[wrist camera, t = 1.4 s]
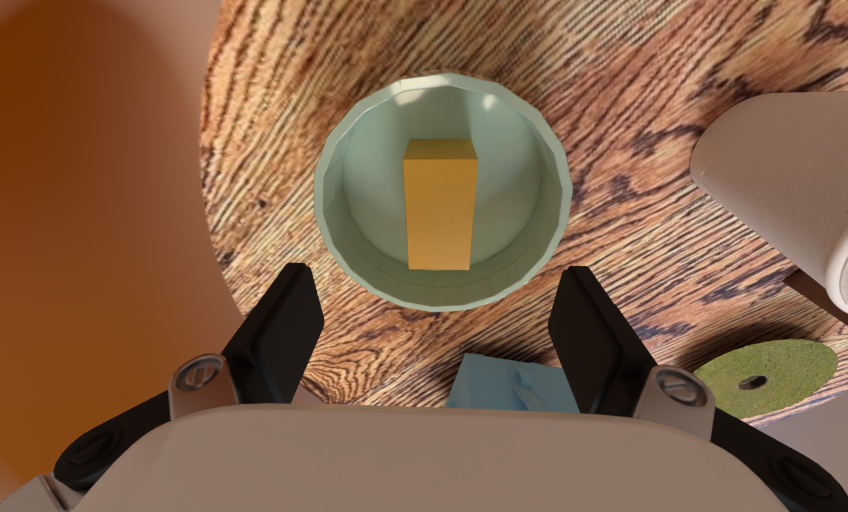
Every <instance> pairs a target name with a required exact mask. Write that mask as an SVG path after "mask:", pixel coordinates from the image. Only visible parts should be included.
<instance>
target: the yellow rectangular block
mask: <svg viewBox="0 0 848 512" xmlns="http://www.w3.org/2000/svg"><path fill="white" fill-rule="evenodd" d="M402 161H403V179H404V197H405V215H406V233H407V251H408V268H409V269H429V270H469V269H470V258H471V246H472V233H473V220H474V208H475V195H476V183H477V170H478V157H477V154H476V151H475V148H474V145H473V142H472V139H410V141H409V143H408V146H407V149H406V152H405V154H404V157H403V160H402Z"/></svg>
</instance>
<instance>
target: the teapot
mask: <svg viewBox="0 0 848 512" xmlns="http://www.w3.org/2000/svg"><path fill="white" fill-rule="evenodd" d="M444 408H462V409H490V410H516V411H542V412H563V413H580V411H579V409H578V406H577V404H576V401H575V398H574V396H573V393H572V391H571V388H570V386H569V383H568V381H567V378H566V375H565V373H564V370H563V368H557V367H551V366H544V365H541V364H539V363H535V362H531V363H525V362H519V361H512V360H506V359H500V358H493V357H487V356H484V355H482V354H477V353H476V354H468V353H465V355H464V358H463V360H462V363H461V365H460V368H459V370H458V373H457V376H456V378H455V381H454V383H453V386H452V389H451V391H450V394H449V396H448V399H447V402H446V404H445V407H444Z"/></svg>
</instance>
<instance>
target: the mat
mask: <svg viewBox="0 0 848 512" xmlns="http://www.w3.org/2000/svg"><path fill="white" fill-rule="evenodd" d="M829 348H830V347H828V346H825V345H823V344H822V343H819V342H814V341H811V340H806V339H787V340H775V341H768V342H762V343H759V344H752V345H750V346H748V345H747V346H745V347H743V348H740V349H736V350H733V351H731V352H728V353H726V354H723V355H721V356H719V357H717V358H715V359H713V360H712V361H709V362H708V363H706V364H705V365H703V366H701V367H700V368H699V369H697V370H696V371H694V373H693V374H694V375H695V376H697V377H698V378H699V379H700V380H702V381H703V382H704V383H705V384H706V385H707V386H708V387H709V389H710V390H711V391H712V393H713V395H714V397H715V404H716V405H715V406H716V407H718V408H719V409H721V410H723V411H725V412H727V413H728V414H730V415H732V416H734V417H736V418H738V419H740V418H749V417H753V416H758V415H762V414H767V413H768V412H769V413H770V412H774V411H777V410H781V409H784V408H785V407H790V406H792V405H794V404H796V403H799V401H802V400H804V398H806V397H807V396H810V395H811V394H812V393H813V392H815V391H818V390H819V389H820V388H821V387H823V385H824V384H825V383H827V381H829V379H830V378H831V377H833V374H834V373H835V371H837V365H838V357H837V354H835V352H834V351H833V350H832V349H831V348H830V349H829Z"/></svg>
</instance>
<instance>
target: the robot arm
mask: <svg viewBox="0 0 848 512" xmlns="http://www.w3.org/2000/svg"><path fill="white" fill-rule="evenodd" d="M323 327H324V316H323V313H322V309H321V305H320V301H319V297H318V294H317V290H316V286H315V282H314V279H313V275H312V271H311V268H310V267H307V266H306V264H305V263H287V264H286V265H285V267H284V268H283V269H282V271H281V272H280V273H279V275H278V276H277V278H276V279H275V280H274V282H273V283H272V284H271V286H270V287H269V288H268V290H267V291H266V292H265V294H264V295H263V297H262V298H261V299H260V301H259V302H258V303H257V305H256V306H255V307H254V309H253V310H252V311H251V313H250V314H249V316H248V317H247V318H246V320H245V321H244V322H243V324H242V325H241V327H240V328H239V329H238V330H237V332H236V333H235V335H234V336H233V337H232V339H231V340H230V341H229V343H228V344H227V346H226V347H225V348H224V350H223V351H222V352H221V354H218V353H208V354H203V355H200V356H197V357H195V358H193V359H191V360H189V361H187V362H186V363H184V364H183V365H182V366H180V367H179V368H178V369H177V370H176V371H175V373H174V374H173V375H172V377H171V379H170V381H169V385H168V390H166V391H164V392H162V393H161V394H159V395H157V396H155V397H153V398H151V399H149V400H147V401H145V402H143V403H141V404H139V405H137V406H135V407H133V408H132V409H130V410H128V411H126V412H124V413H122V414H120V415H118V416H116V417H114V418H112V419H110V420H108V421H106V422H104V423H103V424H101V425H99V426H97V427H95V428H93V429H91V430H90V431H88V432H86V433H85V434H83V435H82V436H80V437H79V438H78V439H76V440H75V441H74V442H73V443H71V444H70V446H69V447H68V448H67V449H66V450H65V451H64V452H63V453H62V454H61V456H60V457H59V459H58V460H57V462H56V464H55V467H54V470H53V471H52V472H51V473H50V474H48V475H47V476H44V475H43V474H39V475H38V476H36V477H35V478H34V479H32V480H31V481H29V482H28V483H27V484H25V485H24V486H22V487H21V488H19V489H18V490H17V491H15V492H14V493H12V494H11V495H10V496H8V497H7V498H5V499H4V500H2V501H1V502H0V512H848V495H847V494H846V492H845V491H844V489H843V488H842V486H841V485H840V484H839V483H838V482H837V481H836V480H835V479H834V477H833V476H832V475H831V474H830V473H828V472H827V471H826V470H825V469H823V468H822V467H821V466H820V465H819V464H817V463H816V462H814V461H812V460H811V459H809V458H808V457H806V456H805V455H803V454H801V453H799V452H797V451H796V450H794V449H792V448H790V447H788V446H787V445H785V444H783V443H781V442H779V441H777V440H776V439H774V438H772V437H770V436H768V435H767V434H765V433H763V432H761V431H759V430H757V429H756V428H754V427H752V426H750V425H748V424H747V423H745V422H743V421H741V420H739V419H738V418H736V417H734V416H732V415H730V414H728V413H727V412H725V411H723V410H721V409H719V408H718V407H716V406H715V405H716V404H715V397H714V395H713V393H712V391H711V390H710V389H709V387H708V386H707V385H706V384H705V383H704V382H703V381H702V380H700V379H699V378H698V377H697V376H695V375H694V374H692V373H690V372H688V371H686V370H684V369H682V368H679V367H676V366H672V365H667V364H666V365H658V364H657V363H656V361H655V360H654V358H653V357H652V356H651V354H650V353H649V351H648V350H647V348H646V347H645V346H644V344H643V343H642V341H641V340H640V339H639V337H638V336H637V334H636V333H635V331H634V330H633V329H632V327H631V326H630V324H629V323H628V321H627V320H626V319H625V317H624V316H623V314H622V313H621V311H620V310H619V309H618V307H617V306H616V305H615V304H614V303H613V302H612V300H611V299H610V297H609V296H608V294H607V293H606V292H605V290H604V289H603V287H602V286H601V284H600V283H599V282H598V280H597V279H596V277H595V276H594V274H593V273H592V272H591V270H590V269H589V268H588V267H587V266H569V267H568V269H567V270H563V272H562V275H561V279H560V282H559V286H558V289H557V293H556V296H555V300H554V304H553V307H552V311H551V314H550V318H549V321H548V332H549V335H550V337H551V340H552V342H553V345H554V347H555V350H556V352H557V355H558V358H559V360H560V363H561V365H562V368H563V370H564V373H565V375H566V378H567V381H568V383H569V386H570V388H571V391H572V393H573V396H574V398H575V401H576V404H577V406H578V409H579V411H580V413H563V412H542V411H516V410H490V409H462V408H433V407H402V406H369V405H333V404H291V401H292V399H293V396H294V394H295V392H296V390H297V387H298V385H299V383H300V381H301V378H302V376H303V374H304V371H305V369H306V367H307V364H308V362H309V360H310V357H311V355H312V353H313V350H314V348H315V346H316V343H317V341H318V339H319V336H320V334H321V332H322V329H323Z"/></svg>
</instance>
